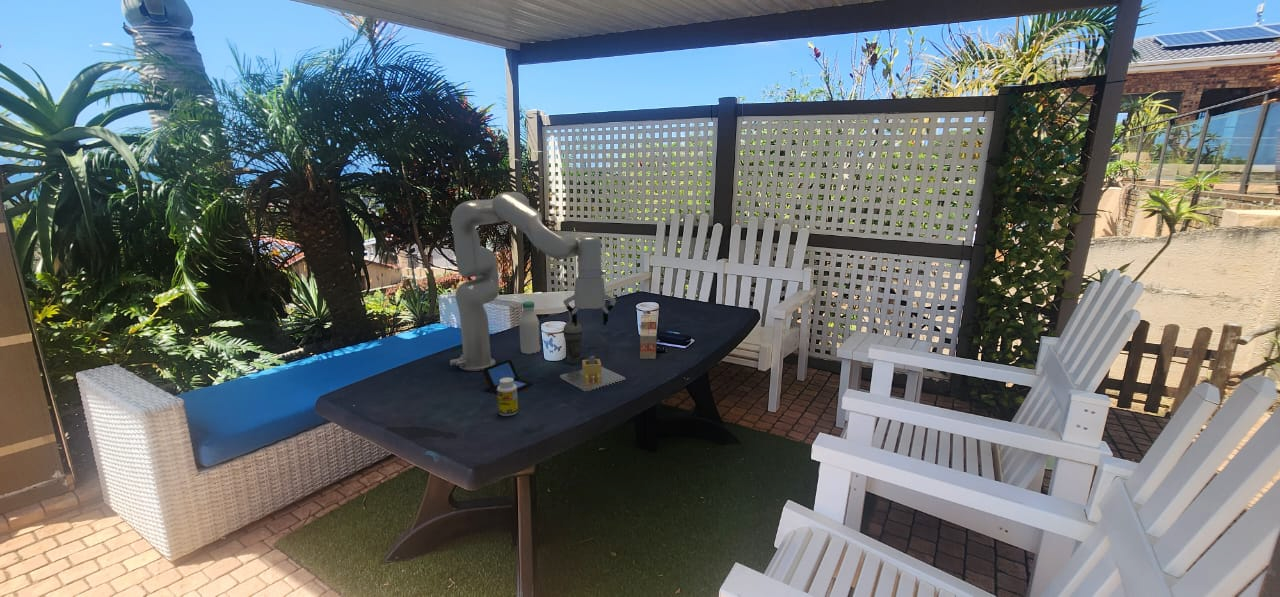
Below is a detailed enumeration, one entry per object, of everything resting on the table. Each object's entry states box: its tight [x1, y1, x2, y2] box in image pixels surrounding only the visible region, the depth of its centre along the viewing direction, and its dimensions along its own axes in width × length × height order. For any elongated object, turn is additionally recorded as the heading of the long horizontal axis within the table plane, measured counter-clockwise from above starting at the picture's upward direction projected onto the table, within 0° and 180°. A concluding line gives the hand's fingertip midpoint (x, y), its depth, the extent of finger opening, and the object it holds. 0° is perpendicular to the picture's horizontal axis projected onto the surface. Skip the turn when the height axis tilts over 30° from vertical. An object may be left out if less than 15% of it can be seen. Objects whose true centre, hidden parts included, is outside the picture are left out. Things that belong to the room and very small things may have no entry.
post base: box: [559, 355, 626, 393], centre depth 180 cm, size 16×16×8 cm
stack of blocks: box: [639, 314, 657, 360], centre depth 211 cm, size 21×6×12 cm, turn 178°
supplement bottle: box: [496, 377, 519, 417], centre depth 154 cm, size 6×6×10 cm
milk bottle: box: [519, 300, 541, 355], centre depth 209 cm, size 8×8×20 cm
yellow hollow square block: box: [581, 358, 602, 384], centre depth 179 cm, size 10×6×5 cm, turn 9°
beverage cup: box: [562, 309, 583, 364], centre depth 197 cm, size 7×7×20 cm
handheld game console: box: [482, 359, 534, 395], centre depth 173 cm, size 12×11×7 cm
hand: (590, 324), depth 177 cm, fingers open, 9 cm apart
